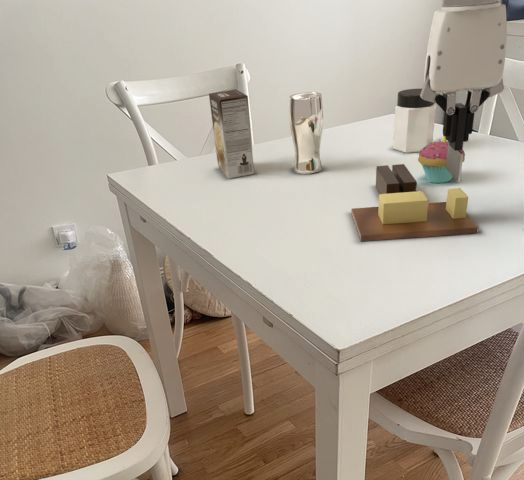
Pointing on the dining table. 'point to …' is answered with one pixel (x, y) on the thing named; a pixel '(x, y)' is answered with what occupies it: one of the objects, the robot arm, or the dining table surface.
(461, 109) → the knife
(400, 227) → the board
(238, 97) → the coffee box
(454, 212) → the butter slice
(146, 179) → the dining table surface
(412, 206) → the butter
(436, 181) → the cupcake
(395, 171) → the knife block
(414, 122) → the jar
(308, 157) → the beer glass
